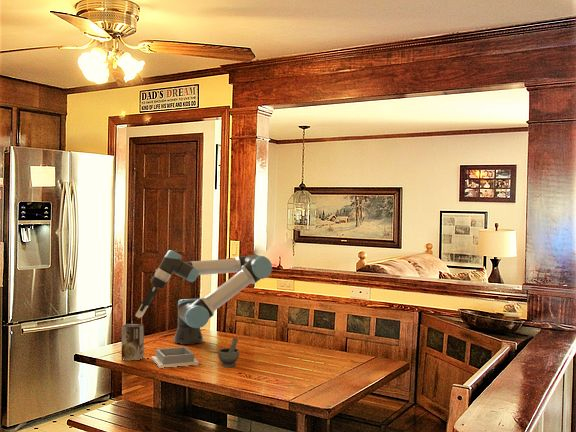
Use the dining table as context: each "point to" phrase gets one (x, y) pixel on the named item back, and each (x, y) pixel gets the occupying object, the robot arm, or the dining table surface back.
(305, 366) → the dining table surface
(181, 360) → the collar tray
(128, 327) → the coffee box
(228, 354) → the mortar and pestle
